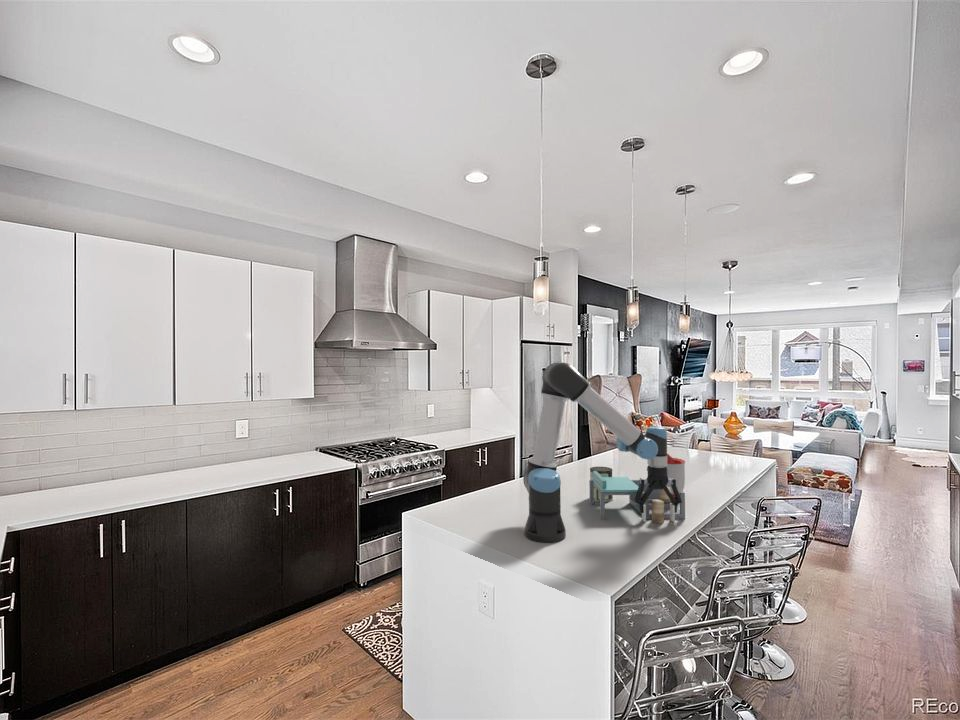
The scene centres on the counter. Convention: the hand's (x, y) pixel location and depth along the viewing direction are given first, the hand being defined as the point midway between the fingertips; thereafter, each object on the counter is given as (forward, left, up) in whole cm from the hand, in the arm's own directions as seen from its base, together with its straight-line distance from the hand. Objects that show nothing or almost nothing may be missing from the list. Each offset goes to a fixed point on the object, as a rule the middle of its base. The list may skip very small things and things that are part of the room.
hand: (658, 520), depth 188 cm
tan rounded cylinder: (0, 0, 0) cm, 0 cm away
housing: (+14, +5, 0) cm, 15 cm away
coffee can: (+32, +15, 0) cm, 35 cm away
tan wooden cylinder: (+13, -8, +2) cm, 15 cm away
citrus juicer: (+37, -17, 0) cm, 41 cm away
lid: (+14, +13, +11) cm, 22 cm away
